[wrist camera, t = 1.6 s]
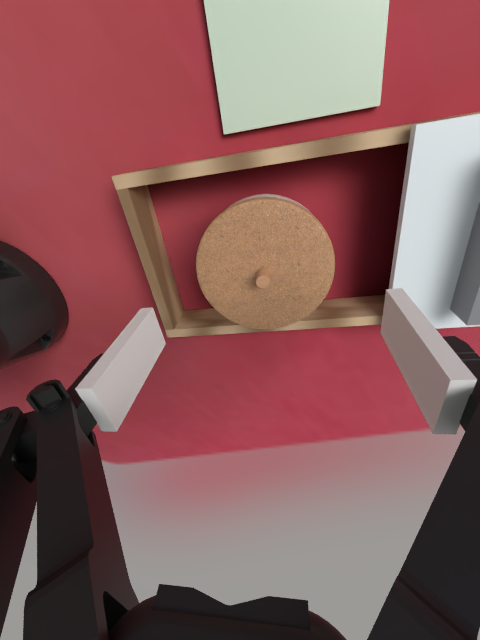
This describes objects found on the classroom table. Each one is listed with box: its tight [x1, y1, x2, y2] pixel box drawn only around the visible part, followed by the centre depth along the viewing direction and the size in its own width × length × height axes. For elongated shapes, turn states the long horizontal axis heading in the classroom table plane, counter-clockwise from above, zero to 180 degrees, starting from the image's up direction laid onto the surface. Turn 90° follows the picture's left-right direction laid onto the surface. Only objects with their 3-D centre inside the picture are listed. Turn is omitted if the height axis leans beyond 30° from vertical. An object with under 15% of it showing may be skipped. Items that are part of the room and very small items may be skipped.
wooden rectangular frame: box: [112, 112, 480, 338], centre depth 26 cm, size 34×16×4 cm, turn 99°
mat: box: [204, 0, 389, 135], centre depth 19 cm, size 12×12×1 cm
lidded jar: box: [196, 194, 335, 329], centre depth 24 cm, size 11×11×9 cm
